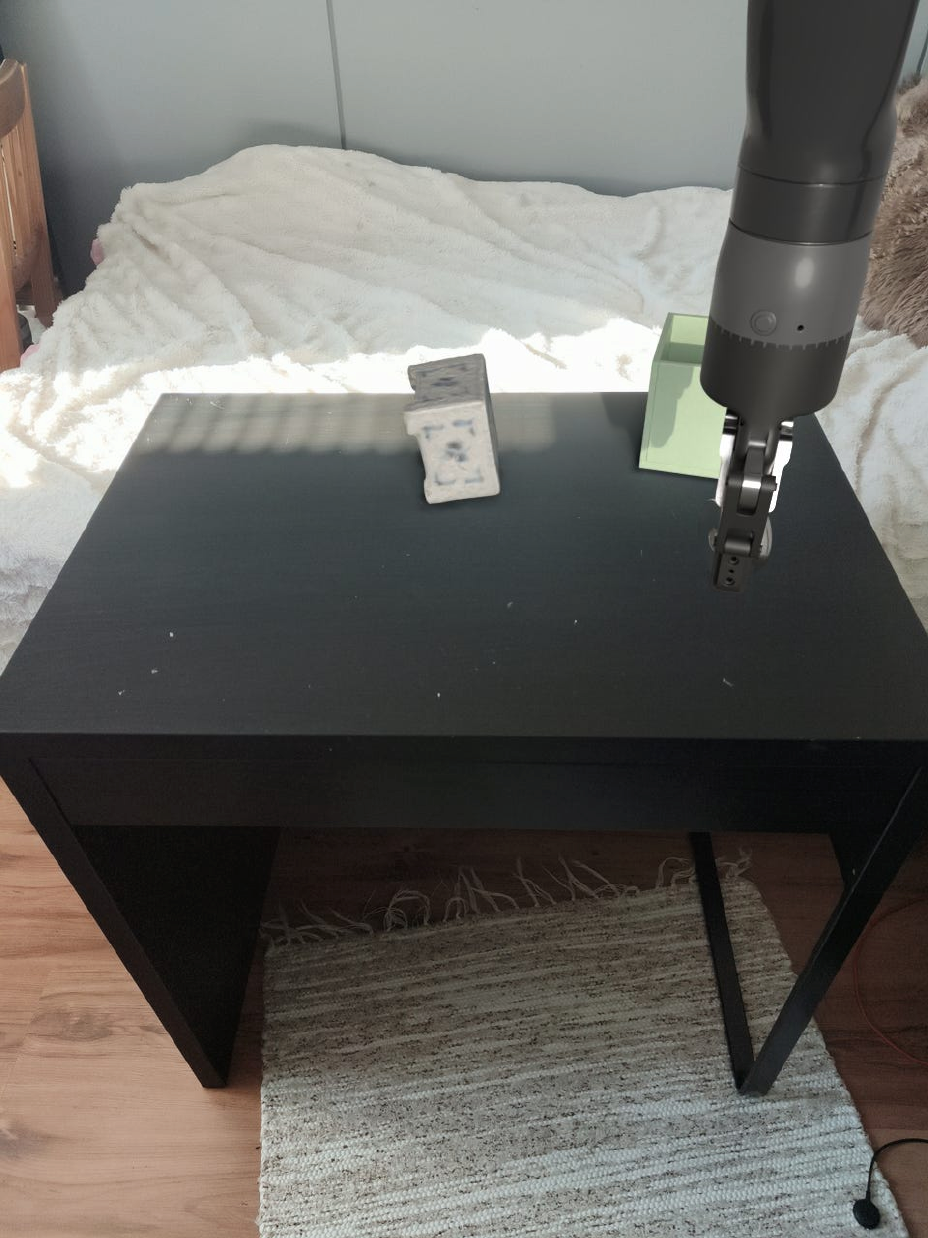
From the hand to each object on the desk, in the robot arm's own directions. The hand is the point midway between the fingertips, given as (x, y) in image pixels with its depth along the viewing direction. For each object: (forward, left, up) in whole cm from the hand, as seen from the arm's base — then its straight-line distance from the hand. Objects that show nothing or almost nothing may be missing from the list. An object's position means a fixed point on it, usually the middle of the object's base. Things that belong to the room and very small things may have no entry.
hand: (730, 560), depth 60 cm
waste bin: (+3, -32, -10) cm, 33 cm away
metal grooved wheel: (0, 0, -1) cm, 1 cm away
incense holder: (+25, -20, -10) cm, 33 cm away
